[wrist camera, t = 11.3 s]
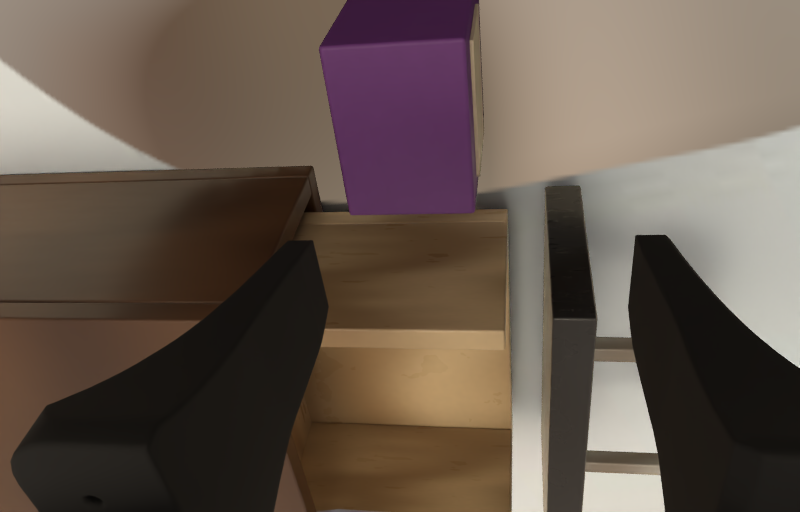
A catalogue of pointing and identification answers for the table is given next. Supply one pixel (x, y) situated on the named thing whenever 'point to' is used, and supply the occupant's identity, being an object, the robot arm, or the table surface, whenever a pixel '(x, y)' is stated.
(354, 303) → the drawer
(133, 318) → the drawer unit
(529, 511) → the table surface
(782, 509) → the robot arm
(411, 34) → the snack box
